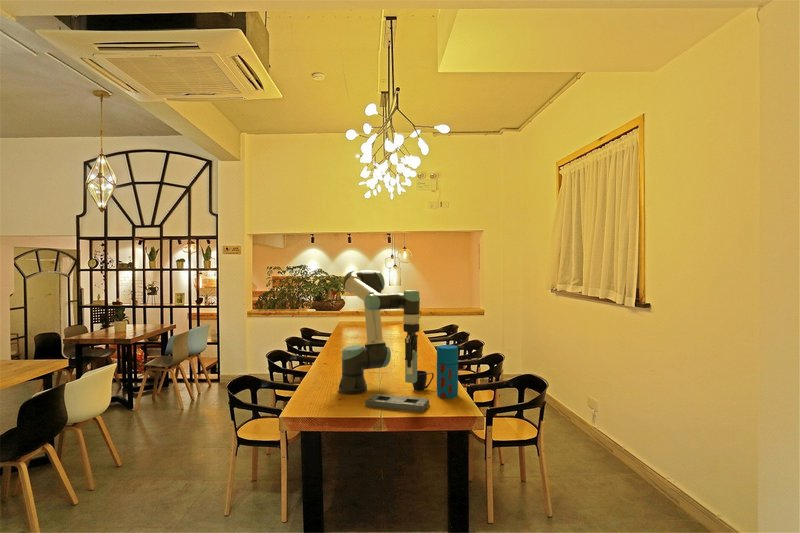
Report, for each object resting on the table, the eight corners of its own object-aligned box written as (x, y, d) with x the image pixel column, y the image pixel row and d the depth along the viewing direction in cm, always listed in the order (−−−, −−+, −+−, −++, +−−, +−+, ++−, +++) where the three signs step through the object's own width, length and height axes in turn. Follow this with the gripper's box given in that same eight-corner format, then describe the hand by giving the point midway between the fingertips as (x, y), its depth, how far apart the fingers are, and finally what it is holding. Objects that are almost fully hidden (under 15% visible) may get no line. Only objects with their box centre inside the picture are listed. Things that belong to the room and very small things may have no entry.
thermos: (444, 391, 239) (444, 344, 239) (462, 395, 232) (461, 346, 232) (432, 396, 230) (432, 347, 230) (450, 400, 223) (450, 349, 223)
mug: (435, 391, 239) (435, 373, 239) (412, 392, 238) (412, 374, 238) (432, 387, 247) (432, 370, 247) (410, 388, 246) (410, 370, 246)
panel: (365, 406, 213) (365, 399, 213) (374, 399, 224) (374, 393, 224) (422, 412, 204) (422, 405, 204) (429, 404, 215) (429, 398, 215)
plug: (405, 382, 211) (405, 350, 211) (408, 380, 215) (408, 349, 215) (414, 383, 209) (414, 351, 209) (417, 380, 214) (417, 349, 214)
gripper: (413, 325, 202) (413, 377, 203) (424, 321, 219) (423, 369, 219) (398, 325, 205) (397, 376, 205) (409, 320, 222) (409, 367, 222)
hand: (411, 372), depth 212 cm, fingers closed on plug, 4 cm apart
